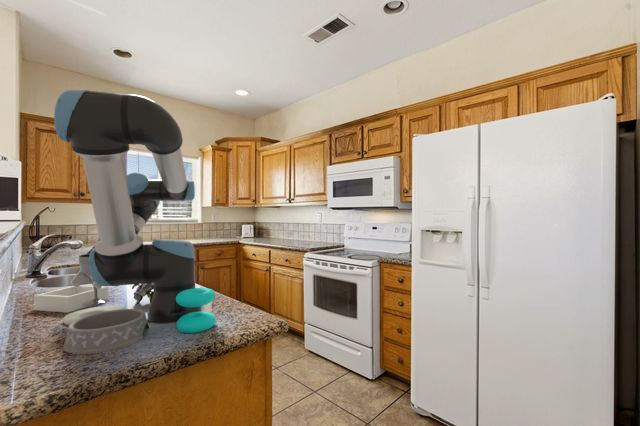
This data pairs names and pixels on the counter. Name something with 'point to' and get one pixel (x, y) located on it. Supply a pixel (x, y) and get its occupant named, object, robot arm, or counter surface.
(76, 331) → the dog bowl
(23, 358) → the counter surface
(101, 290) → the holder
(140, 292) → the passion flower
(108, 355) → the counter surface
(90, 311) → the plate
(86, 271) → the wine glass
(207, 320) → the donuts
